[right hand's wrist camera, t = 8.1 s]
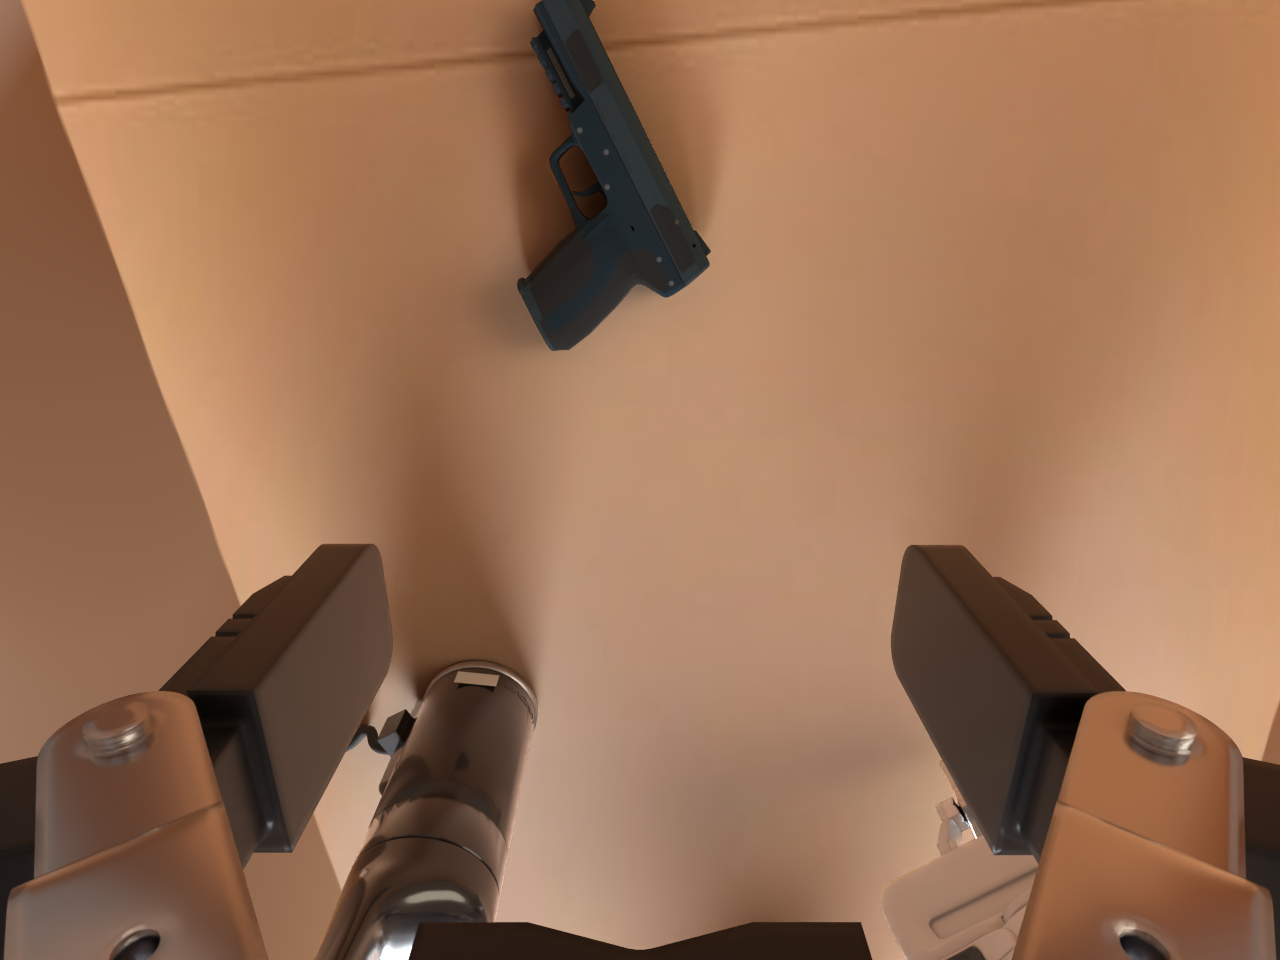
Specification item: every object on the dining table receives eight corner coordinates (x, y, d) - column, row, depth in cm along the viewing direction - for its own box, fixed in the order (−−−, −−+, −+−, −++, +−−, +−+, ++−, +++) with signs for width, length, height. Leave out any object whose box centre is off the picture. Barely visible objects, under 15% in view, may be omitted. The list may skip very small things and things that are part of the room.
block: (987, 743, 56) (1016, 788, 52) (1003, 781, 57) (1032, 829, 53) (938, 761, 57) (962, 807, 52) (954, 798, 58) (979, 846, 54)
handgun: (414, 100, 44) (585, -11, 42) (561, 352, 49) (719, 265, 47) (397, 91, 41) (581, -29, 39) (555, 361, 46) (724, 268, 44)
